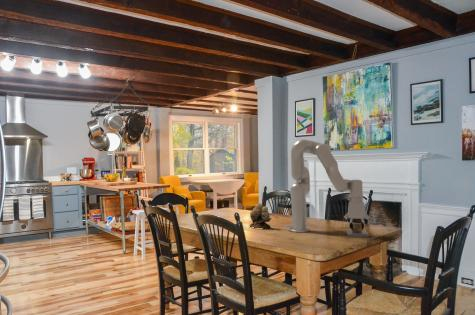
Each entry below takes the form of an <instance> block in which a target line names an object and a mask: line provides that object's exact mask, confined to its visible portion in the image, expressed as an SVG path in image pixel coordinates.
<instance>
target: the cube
mask: <svg viewBox="0 0 475 315" xmlns="http://www.w3.org/2000/svg"><path fill="white" fill-rule="evenodd" d="M361 223H362V222H359V223H357V222H355V223H354V222H352V224H353V230H351V231H352V232H353V233H362V231H363V230H362V225H361Z"/></svg>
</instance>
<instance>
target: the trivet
mask: <svg viewBox="0 0 475 315" xmlns="http://www.w3.org/2000/svg"><path fill="white" fill-rule="evenodd" d="M345 234H346V236H347V237H348V238H349V237H350V238H351V237H352V238H357V237H358V238H370V235H369V233H368V232H367V230H362V233H353V232H352V230H345Z"/></svg>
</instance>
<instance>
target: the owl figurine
mask: <svg viewBox="0 0 475 315" xmlns="http://www.w3.org/2000/svg"><path fill="white" fill-rule="evenodd" d="M249 214H250V215H249V217H250V219H251V221H252V223H250V224H249V225H248V227H249V226H250V227H254V228H268V229H271V228H272V227H271V224H268V223H269V222H271V220H272V217H271V216H270V215H271V214H270V212H269V208H268V206H263V204H262V203H256V205H255V207H253V209H252V210H251V211H250V213H249ZM267 222H268V223H267ZM250 227H249V228H250ZM254 228H253V229H254Z"/></svg>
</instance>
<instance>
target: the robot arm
mask: <svg viewBox="0 0 475 315" xmlns="http://www.w3.org/2000/svg"><path fill="white" fill-rule="evenodd" d="M305 153H307V154H311V155H315V156H316V157H317V159H318V160H319V161H320V163H321V165H322V166H323V168H324V170H325V173H326V174H327V177H328V179H329V181H330V183H331V184H332V186H333V187H334V189H335V191H337V192H339V193H344V192H348V191H349V197H347V201H348V204H347V213H345V215H344V216H343V218H344V219H345V220H347V222H348V223H349V229H350V231H352V230H353V224H352V223H353V220H361V222H360V223H361V225H362V231H364V229H365V223H366V222H367V221H369V219H370V218H371V217H370V216H369V214H368V213H367V212H366V205H365V202H364V200H363V198H364V196H363V193H364V192H363V190H364V189H363V187H364V186H363V181H362V180H361V179H346V178H345V179H344V177H343V176H342V174H341V172H340V169H339V164H338V161H337V159H336V158H335V157H334V155H333V154H332V149H331V147H330V146H329V145H328V144H327V143H326V144H325V143H321V142H317V141H313V140H309V139H299V140H298V141H296V142H295V143H294V144H293V145H292V147H291V150H290V165H291V167H290V168H291V171H290V172H291V177H292V179H293V180H295V183H293V184H292V185H291V187H290V190H289V192H290V199H291V223H289V224H287V223H286V224H285V225H284V226H285V228H289V231H291V232H293V233H294V232H295V233H307V232H309V231H310V228H309V227H308V224H307V223H308V222H307V221H308V218H307V216H308V214H307V200H306V196H307V195H308V194H309V193H310V191H311V182H310V181H311V180H310V177H311V176H310V170H309V169H308V168H307V167H306V166H305V156H304V154H305Z"/></svg>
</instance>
